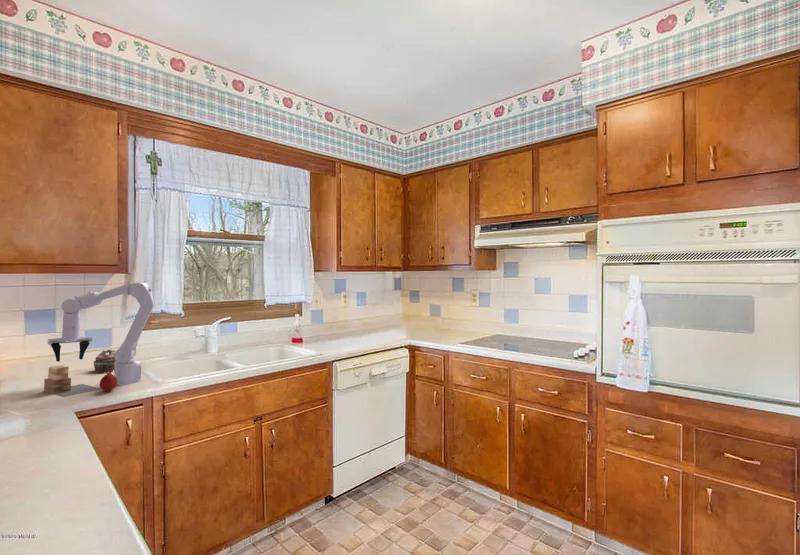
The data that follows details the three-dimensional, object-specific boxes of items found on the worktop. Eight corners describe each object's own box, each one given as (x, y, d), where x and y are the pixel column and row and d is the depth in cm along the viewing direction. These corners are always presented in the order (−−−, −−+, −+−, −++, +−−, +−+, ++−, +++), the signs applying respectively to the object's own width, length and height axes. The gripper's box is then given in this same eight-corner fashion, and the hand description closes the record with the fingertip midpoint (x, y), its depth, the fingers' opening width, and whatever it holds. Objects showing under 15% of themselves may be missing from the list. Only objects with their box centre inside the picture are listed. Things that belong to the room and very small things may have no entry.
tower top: (61, 382, 166) (62, 375, 166) (70, 384, 164) (71, 378, 164) (44, 385, 161) (44, 378, 161) (53, 387, 158) (53, 381, 158)
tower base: (61, 388, 166) (61, 382, 166) (70, 390, 164) (70, 384, 164) (43, 391, 161) (44, 385, 161) (52, 394, 158) (53, 387, 158)
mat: (82, 384, 174) (82, 383, 174) (102, 389, 168) (102, 388, 168) (42, 392, 161) (42, 391, 161) (63, 397, 156) (63, 396, 156)
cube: (61, 376, 165) (61, 365, 165) (68, 378, 164) (68, 366, 164) (48, 378, 161) (48, 367, 161) (54, 380, 159) (55, 368, 160)
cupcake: (104, 368, 205) (105, 348, 205) (122, 369, 204) (123, 349, 204) (87, 372, 195) (88, 351, 195) (106, 373, 194) (107, 352, 194)
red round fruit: (107, 394, 162) (108, 374, 162) (95, 393, 163) (96, 373, 163) (120, 390, 168) (121, 371, 168) (108, 389, 169) (109, 370, 169)
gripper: (51, 329, 165) (49, 363, 165) (95, 327, 176) (93, 359, 176) (47, 327, 169) (45, 361, 169) (90, 325, 181) (88, 357, 181)
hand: (69, 360), depth 173 cm, fingers open, 7 cm apart
